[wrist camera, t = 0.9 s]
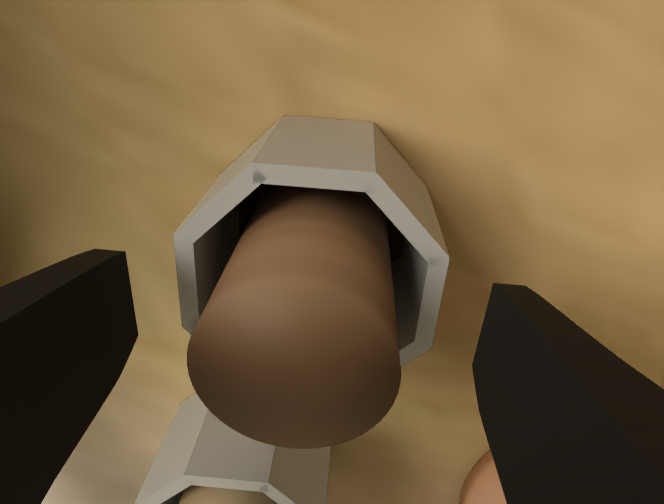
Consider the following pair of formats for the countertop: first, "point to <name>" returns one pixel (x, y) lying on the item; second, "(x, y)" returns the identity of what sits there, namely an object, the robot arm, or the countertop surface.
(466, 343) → the countertop surface
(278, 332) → the walnut peg
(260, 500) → the maple peg
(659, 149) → the countertop surface
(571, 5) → the countertop surface
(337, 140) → the grey sleeve
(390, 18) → the countertop surface
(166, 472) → the grey sleeve
